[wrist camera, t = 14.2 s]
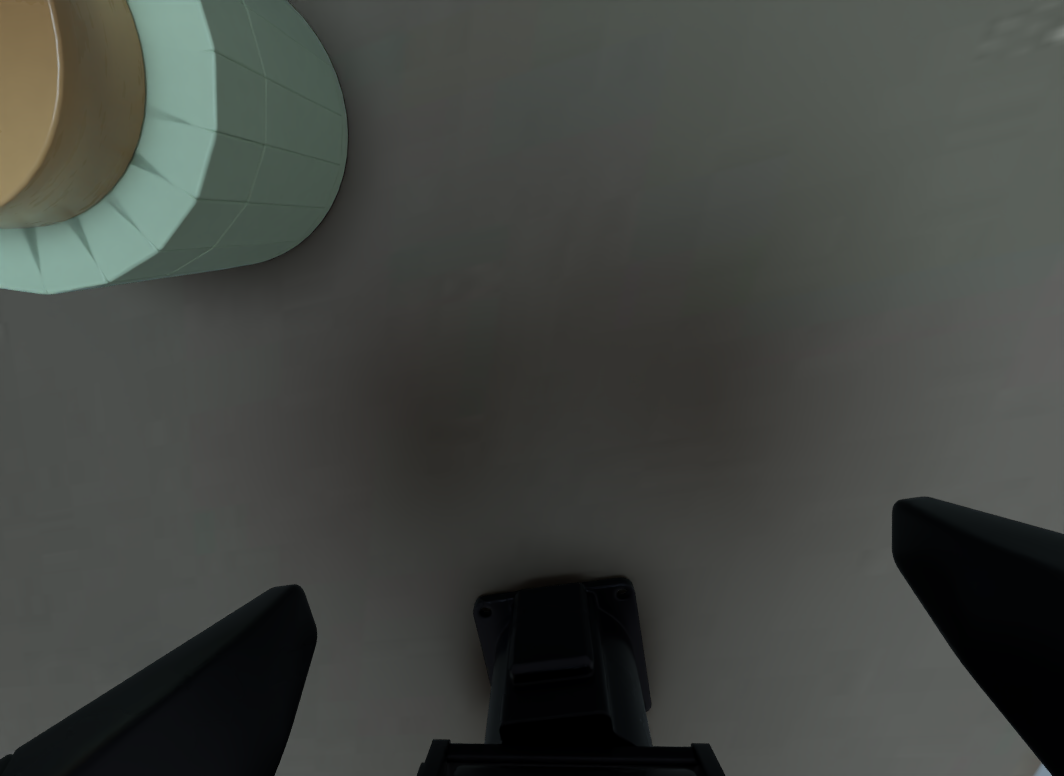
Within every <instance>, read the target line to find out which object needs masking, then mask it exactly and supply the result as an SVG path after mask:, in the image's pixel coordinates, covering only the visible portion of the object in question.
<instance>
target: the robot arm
mask: <svg viewBox="0 0 1064 776" xmlns="http://www.w3.org/2000/svg"><path fill="white" fill-rule="evenodd" d="M892 553H893V558H894V561H895V563H896V565H897V567H898V569H899V570H900V572H901V573H902V575H903V576H904V578H905V579H906V581H907V582H908V584H909V585H910V587H911V589H912V590H913V592H914V593H915V595H916V596H917V598H918V599H919V601H920V602H921V604H922V605H923V607H924V608H925V610H926V611H927V613H928V614H929V616H930V617H931V619H932V620H933V622H934V623H935V625H936V626H937V628H938V629H939V631H940V632H941V634H942V635H943V637H944V638H945V640H946V641H947V643H948V644H949V646H950V647H951V649H952V650H953V652H954V653H955V654H956V656H957V657H958V659H959V660H960V662H961V663H962V664H963V665H964V667H965V668H966V669H967V671H968V672H969V673H970V674H971V676H972V677H973V678H974V680H975V681H976V682H977V683H978V685H979V686H980V687H981V688H982V689H983V691H984V692H985V693H986V694H987V696H988V697H989V698H990V699H991V701H992V702H993V703H994V704H995V706H996V707H997V708H998V709H999V710H1000V712H1001V713H1002V714H1003V715H1004V717H1005V718H1006V719H1007V720H1008V722H1009V723H1010V724H1011V725H1012V726H1013V728H1014V729H1015V730H1016V731H1017V733H1018V734H1019V735H1020V736H1021V738H1022V739H1023V740H1024V741H1025V743H1026V744H1027V745H1028V746H1029V747H1030V749H1031V750H1032V751H1033V752H1034V754H1035V755H1036V756H1037V757H1038V759H1039V760H1040V761H1041V762H1042V764H1043V765H1044V766H1045V767H1046V768H1047V770H1048V771H1049V772H1050V773H1051V775H1052V776H1064V534H1062V533H1058V532H1054V531H1051V530H1047V529H1043V528H1040V527H1036V526H1032V525H1029V524H1025V523H1022V522H1018V521H1014V520H1011V519H1007V518H1003V517H1000V516H996V515H993V514H989V513H985V512H982V511H978V510H974V509H971V508H967V507H964V506H960V505H956V504H953V503H949V502H945V501H942V500H938V499H935V498H931V497H916V498H909V499H902V500H898V501H897V502H896V503H895V504H894V506H893V510H892ZM621 589H625V590H627V591H626V592H625V593H623V594H619V593H617V591H618V590H621ZM484 607H486V608H489V609H491V611H483V610H482V609H481V608H484ZM473 615H474V619H475V623H476V627H477V631H478V635H479V639H480V643H481V647H482V651H483V656H484V660H485V664H486V668H487V672H488V676H489V680H490V684H491V693H490V702H489V710H488V718H487V726H486V734H485V743H484V744H463V743H451V741H450V740H437V739H433V741H432V744H431V747H430V749H429V752H428V755H427V757H426V760H425V763H423V762H422V763H421V765H420V768H419V771H418V773H417V776H725V774H724V772H723V770H722V768H721V766H720V764H719V762H718V760H717V758H716V756H715V754H714V752H713V750H712V748H711V746H710V744H704V743H692V744H691V747H660V746H652V741H651V736H650V731H649V726H648V721H647V716H646V712H647V711H649V709H650V708H651V698H650V691H649V684H648V678H647V671H646V664H645V657H644V650H643V643H642V637H641V630H640V623H639V616H638V609H637V603H636V596H635V590H634V586H633V584H632V582H631V581H630V580H629V579H626V578H613V579H606V580H598V581H591V582H584V583H570V584H563V585H555V586H548V587H540V588H533V589H526V590H520V591H517V592H509V593H502V594H494V595H487V596H482V597H480V598H478V599H477V600H476V602H475V604H474V610H473ZM316 642H317V628H316V624H315V622H314V619H313V616H312V613H311V610H310V607H309V604H308V601H307V598H306V595H305V593H304V591H303V589H302V588H301V587H300V586H298V585H296V584H294V585H286V586H279V587H274V588H271V589H269V590H267V591H266V592H264V593H263V594H261V595H260V596H258V597H256V598H255V599H253V600H252V601H250V602H249V603H247V604H245V605H244V606H242V607H241V608H239V609H237V610H236V611H234V612H233V613H231V614H230V615H228V616H226V617H225V618H223V619H222V620H220V621H218V622H217V623H215V624H214V625H212V626H211V627H209V628H207V629H206V630H204V631H203V632H201V633H200V634H198V635H196V636H195V637H193V638H192V639H190V640H188V641H187V642H185V643H184V644H182V645H181V646H179V647H177V648H176V649H174V650H173V651H171V652H169V653H168V654H166V655H165V656H163V657H162V658H160V659H158V660H157V661H155V662H154V663H152V664H150V665H149V666H147V667H146V668H144V669H143V670H141V671H139V672H138V673H136V674H135V675H133V676H132V677H130V678H128V679H127V680H125V681H124V682H122V683H120V684H119V685H117V686H116V687H114V688H113V689H111V690H109V691H108V692H106V693H105V694H103V695H101V696H100V697H98V698H97V699H95V700H94V701H92V702H90V703H89V704H87V705H86V706H84V707H83V708H81V709H79V710H78V711H76V712H75V713H73V714H71V715H70V716H68V717H67V718H65V719H64V720H62V721H60V722H59V723H57V724H56V725H54V726H52V727H51V728H49V729H48V730H46V731H45V732H43V733H41V734H40V735H38V736H37V737H35V738H33V739H32V740H30V741H29V742H27V743H26V744H24V745H22V746H21V747H19V748H18V749H17V750H16V751H15V752H14V754H13V755H12V754H9V755H6V756H5V757H3V758H2V759H0V776H274V775H275V773H276V770H277V768H278V765H279V763H280V760H281V757H282V755H283V752H284V749H285V747H286V744H287V741H288V738H289V735H290V732H291V729H292V726H293V722H294V719H295V715H296V712H297V709H298V705H299V702H300V698H301V695H302V691H303V688H304V684H305V681H306V677H307V674H308V671H309V667H310V664H311V660H312V657H313V653H314V650H315V646H316Z"/></svg>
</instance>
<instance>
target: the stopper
mask: <svg viewBox="0 0 1064 776" xmlns="http://www.w3.org/2000/svg"><path fill="white" fill-rule="evenodd" d="M145 95H146V91H145V70H144V63H143V57H142V51H141V45H140V41H139V38H138V34H137V30H136V27H135V23H134V20H133V17H132V15H131V12H130V9H129V7H128V4H127V2H126V0H0V229H14V228H35V227H43V226H49V225H52V224H56V223H60V222H63V221H66V220H68V219H70V218H73V217H75V216H77V215H79V214H81V213H83V212H84V211H86V210H87V209H89V208H90V207H92V206H93V205H95V204H96V203H98V202H99V201H100V200H101V199H102V198H103V197H104V196H105V195H106V194H107V193H108V192H109V191H110V190H112V188H113V187H114V186H115V184H116V183H117V182H118V180H119V179H120V178H121V176H122V175H123V174H124V172H125V170H126V168H127V166H128V164H129V162H130V161H131V159H132V157H133V154H134V151H135V148H136V146H137V143H138V140H139V137H140V132H141V128H142V123H143V118H144V108H145Z"/></svg>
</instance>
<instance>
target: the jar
mask: <svg viewBox="0 0 1064 776" xmlns="http://www.w3.org/2000/svg"><path fill="white" fill-rule="evenodd" d="M126 2H127V4H128V7H129V9H130V12H131V15H132V17H133V20H134V23H135V27H136V30H137V34H138V38H139V41H140V45H141V51H142V57H143V63H144V70H145V91H146V95H145V108H144V118H143V123H142V128H141V132H140V137H139V140H138V143H137V146H136V148H135V151H134V154H133V157H132V159H131V161H130V162H129V164H128V166H127V168H126V170H125V172H124V174H123V175H122V176H121V178H120V179H119V180H118V182H117V183H116V184H115V186H114V187H113V188H112V190H110V191H109V192H108V193H107V194H106V195H105V196H104V197H103V198H102V199H101V200H100V201H99V202H98V203H96V204H95V205H93V206H92V207H90V208H89V209H87V210H86V211H84V212H83V213H81V214H79V215H77V216H75V217H73V218H70V219H68V220H66V221H63V222H60V223H56V224H52V225H49V226H43V227H35V228H14V229H0V288H2V289H9V290H16V291H23V292H30V293H37V294H44V295H48V294H51V295H53V294H60V293H67V292H73V291H80V290H87V289H94V288H101V287H107V286H114V285H121V284H128V283H135V282H141V281H148V280H155V279H162V278H169V277H175V276H182V275H189V274H196V273H203V272H210V271H216V270H223V269H229V268H234V267H240V266H245V265H252V264H256V263H261V262H264V261H268V260H270V259H273V258H275V257H277V256H280V255H282V254H284V253H286V252H287V251H289V250H291V249H292V248H294V247H295V246H297V245H298V244H300V243H301V242H302V241H303V240H304V239H305V238H307V237H308V236H309V235H310V234H311V233H312V232H313V231H314V230H315V228H316V227H317V226H318V225H319V224H320V223H321V221H322V220H323V218H324V217H325V215H326V214H327V212H328V211H329V209H330V208H331V206H332V204H333V201H334V199H335V197H336V195H337V193H338V190H339V187H340V184H341V181H342V178H343V175H344V169H345V164H346V158H347V146H348V128H347V115H346V110H345V104H344V99H343V94H342V91H341V88H340V84H339V81H338V78H337V75H336V72H335V70H334V68H333V66H332V63H331V61H330V59H329V56H328V54H327V53H326V51H325V49H324V47H323V46H322V44H321V42H320V41H319V39H318V37H317V36H316V34H315V33H314V31H313V30H312V29H311V27H310V26H309V25H308V23H307V22H306V21H305V19H304V18H303V17H302V16H301V15H300V14H299V13H298V12H297V11H296V10H295V8H294V7H293V6H292V5H291V4H290V3H289V2H288V1H287V0H126Z"/></svg>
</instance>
